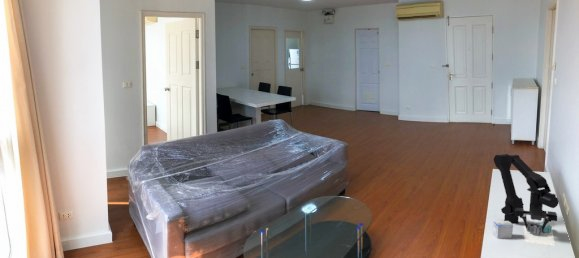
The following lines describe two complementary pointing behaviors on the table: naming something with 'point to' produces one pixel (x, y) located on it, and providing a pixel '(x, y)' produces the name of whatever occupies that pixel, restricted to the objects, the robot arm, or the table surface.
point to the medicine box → (503, 229)
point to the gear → (534, 228)
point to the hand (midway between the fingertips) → (534, 229)
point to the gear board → (540, 236)
